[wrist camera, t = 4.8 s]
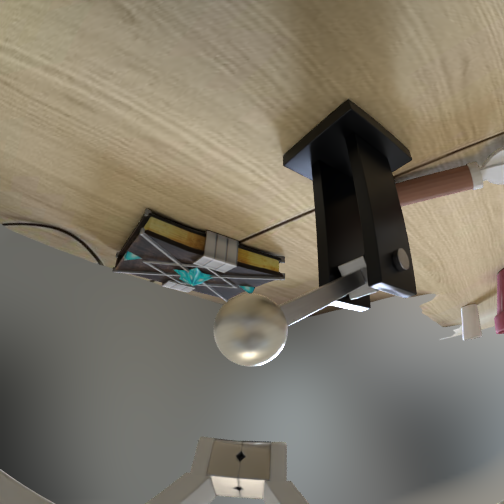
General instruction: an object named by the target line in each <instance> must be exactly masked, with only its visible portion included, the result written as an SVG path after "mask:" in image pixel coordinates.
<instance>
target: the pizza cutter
mask: <svg viewBox="0 0 504 504" xmlns="http://www.w3.org/2000/svg"><path fill="white" fill-rule="evenodd" d="M485 180H488V181H489V182H490V183H494V184H504V147H501V148H499V149H498V150H496V151H495V152H494V153H492V154H491V155H490V156H489V157H488V159H487V160H486V161H485V163H484V164H483V166H482V167H481V168H479V166H478V164H477V162H472V163H468V164H466V165H465V166H461V167H457V168H453V169H449V170H445V171H441V172H438V173H434V174H430V175H426V176H422V177H418V178H414V179H411V180H407V181H403V182H399V183H396V184H395V186H396V189H397V193H398V197H399V201H400V205H401V206H405V205H409V204H413V203H417V202H421V201H425V200H429V199H433V198H437V197H441V196H446V195H450V194H454V193H458V192H462V191H466V190H470V189H473V190H476V189H480V188H483V181H485Z"/></svg>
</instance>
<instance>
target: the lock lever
mask: <svg viewBox="0 0 504 504" xmlns="http://www.w3.org/2000/svg"><path fill="white" fill-rule="evenodd" d="M338 268H339V271H340V273H341V276H342V277H340V278H338V279H336V280H334V281H332V282H329V283H327V284H325V285H323V286H321V287H319V288H316V289H314V290H312V291H310V292H308V293H305V294H303V295H301V296H299V297H296V298H294V299H292V300H289V301H287V302H285V303H283V304H280V305H277V304H276V303H275V302H274V301H272V300H271V299H269V298H267V297H265V296H263V295H259V294H252V293H250V294H242V295H238V296H236V297H234V298H232V299H230V300H229V301H227V302H226V303H225V304H224V305H223V306H222V307H221V309H220V310H219V312H218V314H217V316H216V318H215V322H214V337H215V341H216V344H217V346H218V348H219V350H220V351H221V352H222V354H223V355H224V356H225V357H227V358H228V359H229V360H231V361H232V362H235V363H237V364H239V365H243V366H258V365H262V364H265V363H267V362H269V361H271V360H272V359H273V358H275V357H276V356H277V355H278V354H279V353H280V351H281V350H282V348H283V346H284V344H285V342H286V339H287V332H288V330H287V326H289V325H291V324H293V323H295V322H297V321H299V320H301V319H303V318H305V317H307V316H309V315H311V314H312V313H314V312H316V311H318V310H320V309H322V308H324V307H326V306H327V305H329V304H331V303H333V302H335V301H336V300H338V299H340V298H342V297H344V296H345V295H347V294H349V297H350V299H351V300H353V299H356V298H359V297H362V296H365V295H369V294H372V293H375V292H377V291H379V290H378V289H374V288H371V287H369V286H368V279H367V269H366V259H365V255H363V256H361V257H358V258H356V259H354V260H351V261H349V262H347V263H344V264H342V265H340V266H338Z"/></svg>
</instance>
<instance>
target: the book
mask: <svg viewBox="0 0 504 504" xmlns="http://www.w3.org/2000/svg"><path fill="white" fill-rule="evenodd" d="M116 258H117V261H116V265H115V267H116V268H115V267H113V272H115V273H129V274H133V275H136V276H140V277H144V278H148V279H152V280H155V281H159V282H162V286H164V287H168V288H172V289H176V290H180V291H184V292H190V291H191V290H192V291H196V292H200V293H204V294H208V295H212V296H216V297H220V298H222V299H223V300H225V301H226V302H227V301H228V299H230V298H232V297H234V296H236V295H238V294H240V293H242V292H245V291H246V292H248V293H249V294H250V293H252V292H253V290H254V289H255V287H257V286H260V285H262V284H265V283H268V282H271V281H274V280H285V273H280V272H279V263H285V257H282V256H272V255H269V254H266V253H262V252H259V251H256V250H253V249H250V248H247V247H244V246H241V245H239V241H236V240H234V239H231V238H228V237H225V236H222V235H219V234H217V233H214V232H211V231H208V230H207V231H206V232H205V233H202V232H199V231H196V230H193V229H190V228H187V227H185V226H182V225H180V224H177V223H174V222H172V221H169V220H167V219H164V218H162V217H159V216H157V215H154V214H153V213H152V212H151V211H150V210H149V209H146V210H145V214H144V216H143V218H142V219H141V221H140V222H139V224H138V225H137V227H136V229H135V230H134V232H133V233H132V235H131V236H130V238H129V239H128V241H127V242H126V244H125V245H124V247H123V248H122V250H121V251H120V252H117V253H116Z"/></svg>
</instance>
